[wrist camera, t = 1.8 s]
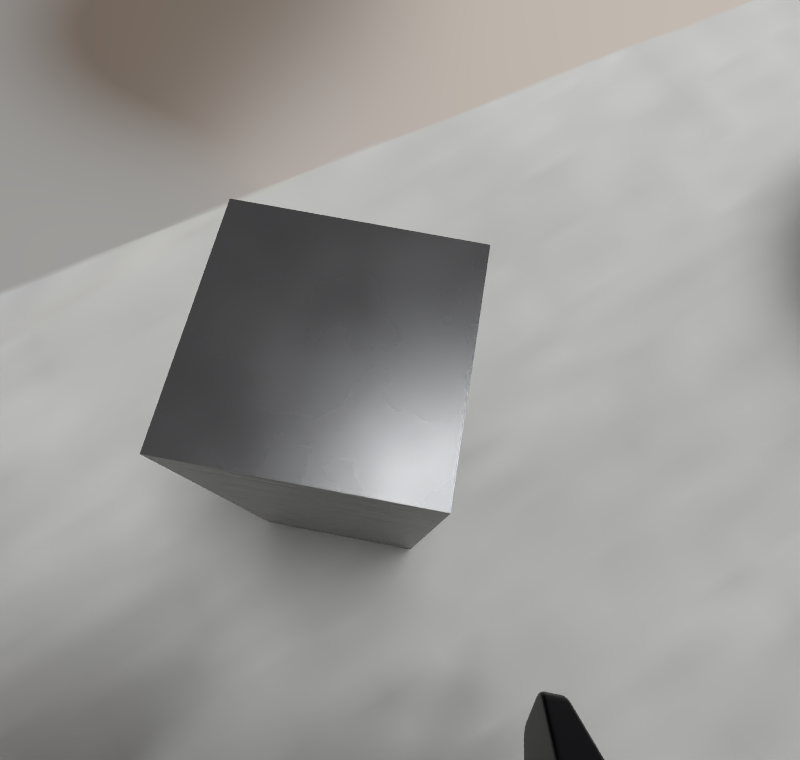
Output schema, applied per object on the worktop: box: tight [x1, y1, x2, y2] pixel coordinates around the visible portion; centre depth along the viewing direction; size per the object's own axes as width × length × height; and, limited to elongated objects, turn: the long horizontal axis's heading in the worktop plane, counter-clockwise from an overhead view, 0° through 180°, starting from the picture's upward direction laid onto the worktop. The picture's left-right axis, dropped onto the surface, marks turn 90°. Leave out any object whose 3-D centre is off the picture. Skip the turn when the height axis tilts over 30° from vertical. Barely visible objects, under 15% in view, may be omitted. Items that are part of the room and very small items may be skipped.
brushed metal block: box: [140, 199, 490, 549], centre depth 16 cm, size 5×5×12 cm
